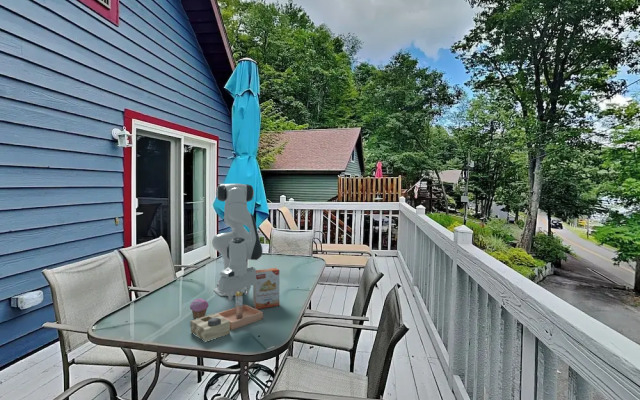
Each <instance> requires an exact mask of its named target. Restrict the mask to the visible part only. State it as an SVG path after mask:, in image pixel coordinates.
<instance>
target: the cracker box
mask: <svg viewBox="0 0 640 400" xmlns="http://www.w3.org/2000/svg"><path fill="white" fill-rule="evenodd" d="M256 279H257V283H256V284H255V285H252V300H253V301H252V302H253V304H252V305H253V308H255V309H257V310H261V309H266V308H272V307H279V306H280V269H278V268H277V267H272V268H262V269H256Z"/></svg>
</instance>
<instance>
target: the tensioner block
mask: <svg viewBox="0 0 640 400" xmlns="http://www.w3.org/2000/svg"><path fill="white" fill-rule="evenodd" d="M191 332H192V333H194V334H195V335H197V336H198V337H200V338H201V339H203V340H204V341H208V340H211V339H214V338H218V337H221V336H223V337H226V336H229V335H230V334H231V329H230V321H228V320H226V319H224V318H222V317H221V316H219V315H217V314H216V313H211V314H208V315H205V316H204V317H201V318H198V319H194V318H193V319H192V320H190V333H191ZM228 334H229V335H228ZM225 335H226V336H225ZM221 338H222V337H221ZM218 339H219V338H218Z"/></svg>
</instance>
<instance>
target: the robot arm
mask: <svg viewBox="0 0 640 400" xmlns="http://www.w3.org/2000/svg"><path fill="white" fill-rule="evenodd" d="M254 195H255V191H254V188H253V185H250V184H243V183H221V184H218V185H217V188H216V191H215V196H216V198H217V200H218V201H220V202H223V203H225V204H224V211H223V212H224V213H223V215H224V216H223V222H224V224H225V225H226V226H227V227H229V228H230V229H231V231H229V232H221V233H218V234H216V235H215V234H214V236H213V238H212V239H211V240H212V241H211V244H212V247H213V248H214V250H215V251H216V252H218V253H220V255H221V258H222V259H223V270H221V271H220V273H219V275H220V277H219V279H218V280H217V282H216V287H214V288H213V289H212V290H213V291H214V292H215V293H216V294H217V295H218V296H219V297H224V296H225V297H228V300H230V301H231V300H233V298H234V296H235V297H236V292H243V294H244V295H245V296H248V295H249V294H250V293H249V292H250V290H251V286H253V285H255V284H256V283H257V279H256V270H257V269H256V268H255V267H253V266H251V267H248V260H250V261H258V260H259V259H260V258H261V257H262V256H263V251H264V249H263V247H262V246H263V245H262V243H261V239H260V236H259V231H258V227H257V224H256V220H255V217H254V215H253V214H252V213H251V212H250V211H249V210H248V202H251V201H252V200H253V199H254ZM245 226H246V228H248V229H249V231H248V230H246V229H245Z"/></svg>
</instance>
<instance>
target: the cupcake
mask: <svg viewBox="0 0 640 400" xmlns="http://www.w3.org/2000/svg"><path fill="white" fill-rule="evenodd" d="M208 307H209V302H208V301H207V300H206V299H204V298H201V297H200V298H199V297H198V298H196V299H194V300H193V301H192V302H191V303H190V305H189V308H190V310H191V313H192V318H193V319H194V318H197V319H198V318H201V317H204V316H206V314H207V310H208Z"/></svg>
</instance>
